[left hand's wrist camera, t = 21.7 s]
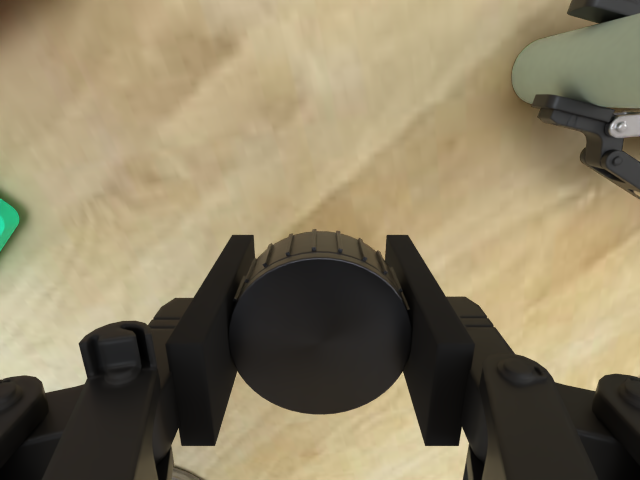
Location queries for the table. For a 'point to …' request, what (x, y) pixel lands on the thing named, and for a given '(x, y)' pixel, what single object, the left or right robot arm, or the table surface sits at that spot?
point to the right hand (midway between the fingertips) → (560, 53)
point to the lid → (320, 324)
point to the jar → (584, 65)
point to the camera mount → (7, 222)
